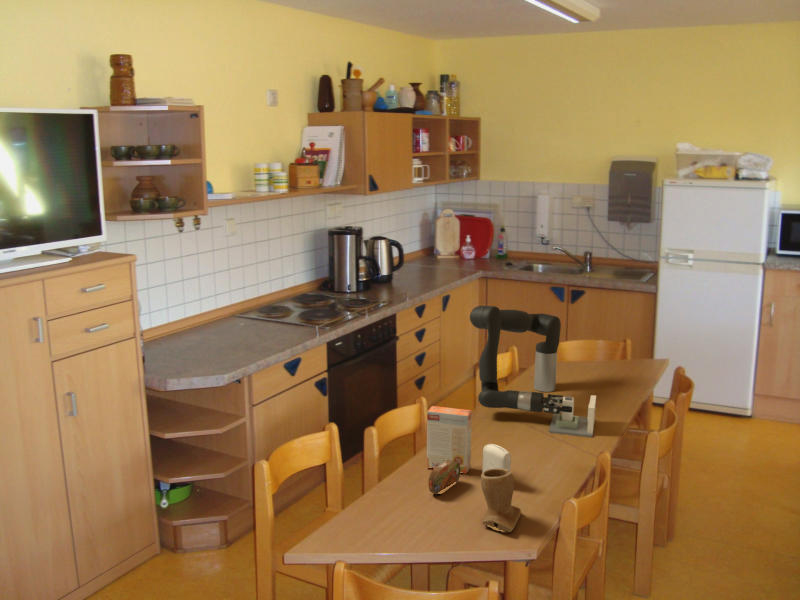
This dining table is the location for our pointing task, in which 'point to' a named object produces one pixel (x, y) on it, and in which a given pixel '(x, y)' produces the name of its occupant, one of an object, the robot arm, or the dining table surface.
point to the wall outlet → (576, 423)
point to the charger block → (568, 402)
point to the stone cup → (499, 499)
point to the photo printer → (496, 457)
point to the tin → (444, 476)
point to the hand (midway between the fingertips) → (573, 405)
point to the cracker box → (449, 437)
